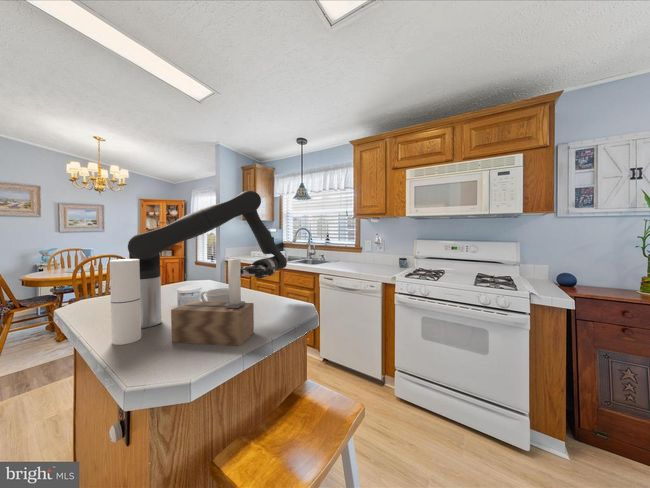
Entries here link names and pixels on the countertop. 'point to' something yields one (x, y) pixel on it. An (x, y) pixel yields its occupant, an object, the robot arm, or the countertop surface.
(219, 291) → the teacup
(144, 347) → the countertop surface
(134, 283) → the cylindrical container
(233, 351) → the countertop surface
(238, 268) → the lever
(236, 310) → the brown rectangular block
